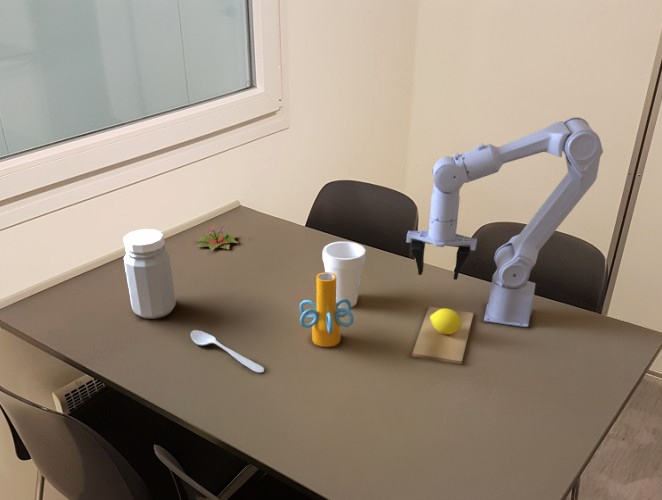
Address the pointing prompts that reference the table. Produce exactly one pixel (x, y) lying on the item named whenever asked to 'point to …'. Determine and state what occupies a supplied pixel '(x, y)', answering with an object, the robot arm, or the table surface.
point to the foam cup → (345, 269)
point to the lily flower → (217, 240)
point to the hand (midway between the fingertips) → (438, 275)
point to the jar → (149, 274)
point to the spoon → (205, 339)
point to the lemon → (446, 321)
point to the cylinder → (326, 312)
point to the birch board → (443, 340)
